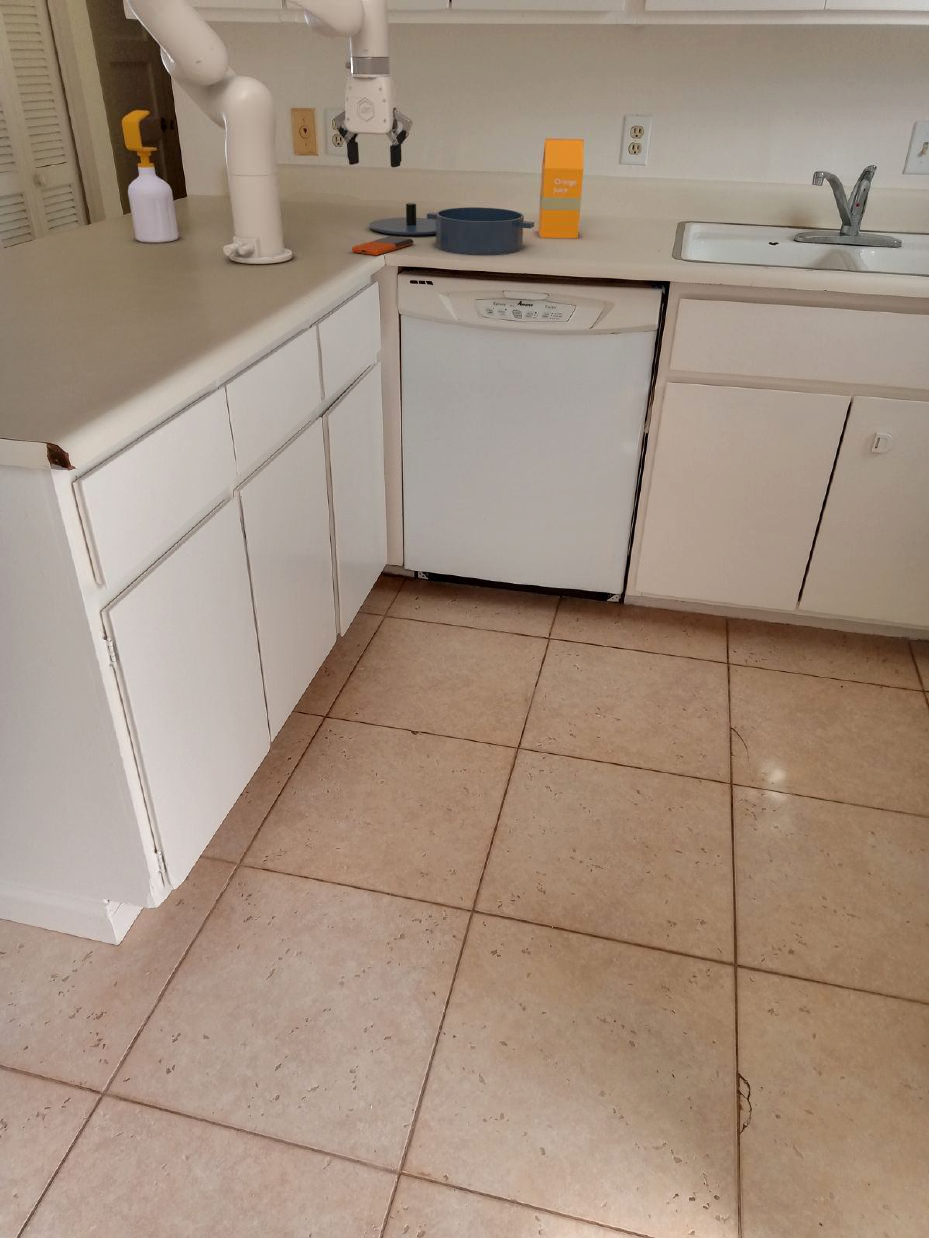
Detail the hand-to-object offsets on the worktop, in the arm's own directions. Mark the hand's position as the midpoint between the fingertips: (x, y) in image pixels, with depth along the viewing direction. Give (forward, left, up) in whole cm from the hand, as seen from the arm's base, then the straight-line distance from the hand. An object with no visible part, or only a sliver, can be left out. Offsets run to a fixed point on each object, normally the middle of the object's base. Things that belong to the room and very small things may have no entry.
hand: (374, 165), depth 184 cm
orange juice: (+34, -30, -16) cm, 48 cm away
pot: (+12, -19, -16) cm, 28 cm away
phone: (-1, -2, -16) cm, 16 cm away
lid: (+23, +3, -15) cm, 28 cm away
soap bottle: (-16, +46, -16) cm, 51 cm away
